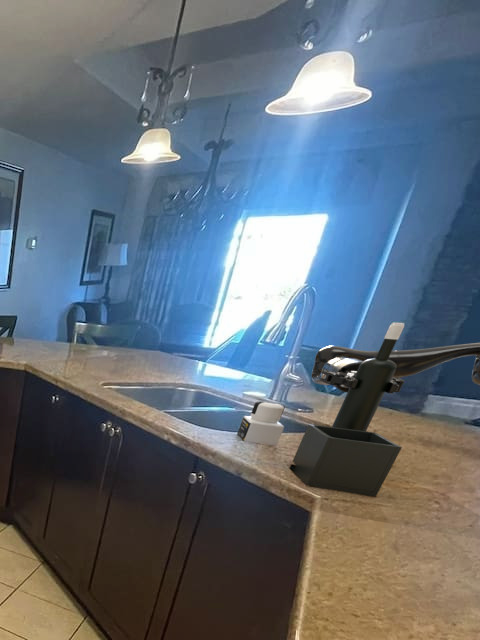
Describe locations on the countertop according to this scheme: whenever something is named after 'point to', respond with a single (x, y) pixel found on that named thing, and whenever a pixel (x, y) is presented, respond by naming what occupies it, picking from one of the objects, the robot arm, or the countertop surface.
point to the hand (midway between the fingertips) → (373, 386)
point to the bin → (344, 459)
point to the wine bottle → (369, 385)
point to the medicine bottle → (262, 424)
